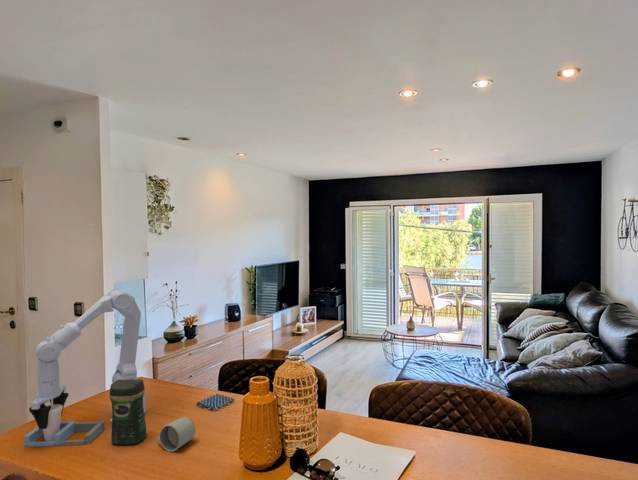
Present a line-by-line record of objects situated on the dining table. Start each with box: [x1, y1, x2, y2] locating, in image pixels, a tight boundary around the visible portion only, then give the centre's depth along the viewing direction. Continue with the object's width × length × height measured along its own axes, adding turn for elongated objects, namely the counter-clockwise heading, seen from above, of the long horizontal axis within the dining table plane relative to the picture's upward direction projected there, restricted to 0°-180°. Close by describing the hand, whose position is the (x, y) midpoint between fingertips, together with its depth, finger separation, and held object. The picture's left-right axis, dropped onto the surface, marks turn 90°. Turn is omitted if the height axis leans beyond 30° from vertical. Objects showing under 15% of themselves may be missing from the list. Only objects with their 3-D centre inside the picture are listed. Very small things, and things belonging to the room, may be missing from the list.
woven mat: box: [195, 393, 235, 413], centre depth 156 cm, size 10×11×2 cm
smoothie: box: [43, 399, 64, 441], centre depth 133 cm, size 6×6×14 cm
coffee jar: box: [109, 378, 147, 446], centre depth 131 cm, size 10×8×19 cm
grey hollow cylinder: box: [157, 416, 196, 453], centre depth 127 cm, size 11×8×8 cm
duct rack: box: [23, 420, 106, 448], centre depth 133 cm, size 20×10×3 cm, turn 92°
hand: (50, 422), depth 133 cm, fingers open, 7 cm apart
